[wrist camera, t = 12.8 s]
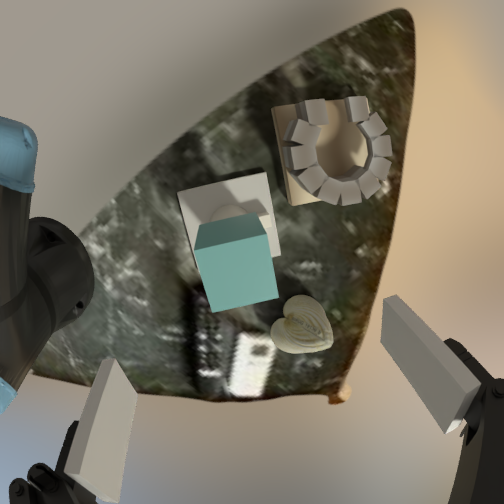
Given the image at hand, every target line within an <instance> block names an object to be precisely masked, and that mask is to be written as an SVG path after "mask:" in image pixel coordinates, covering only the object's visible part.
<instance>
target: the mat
mask: <svg viewBox="0 0 504 504" xmlns="http://www.w3.org/2000/svg"><path fill="white" fill-rule="evenodd" d="M177 195H178V198H179V202H180V206H181V210H182V214H183V217H184V221H185V225H186V229H187V232H188V236H189V239H190V243H191V246H192V250H193V253H194V246H195V241H196V237H197V232H198V228H199V225H201V224H205V223H209V222H210V219H211V216H212V215H213V213H214V212H215V211H216V210H217V209H218V208H220V207H222V206H225V205H237V206H240V207H242V208H243V209H245V210H246V211H247V213H253V212H256V214H258V213H263V212H268V213H269V214H270V218H271V223H272V227H268V228H264V229H265V231H266V233H267V236H268V242H269V247H270V252H271V257H275V256H279V255H281V252H280V247H279V241H278V235H277V229H276V224H275V218H274V213H273V207H272V202H271V196H270V191H269V185H268V180H267V175H266V172H263V173H258V174H253V175H248V176H243V177H239V178H234V179H229V180H225V181H221V182H216V183H212V184H208V185H203V186H199V187H195V188H191V189H187V190H183V191H179V192H177ZM194 257H195V254H194ZM195 260H196V257H195ZM196 264H197V261H196ZM197 267H198V264H197ZM198 271H199V268H198ZM199 274H200V271H199Z"/></svg>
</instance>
